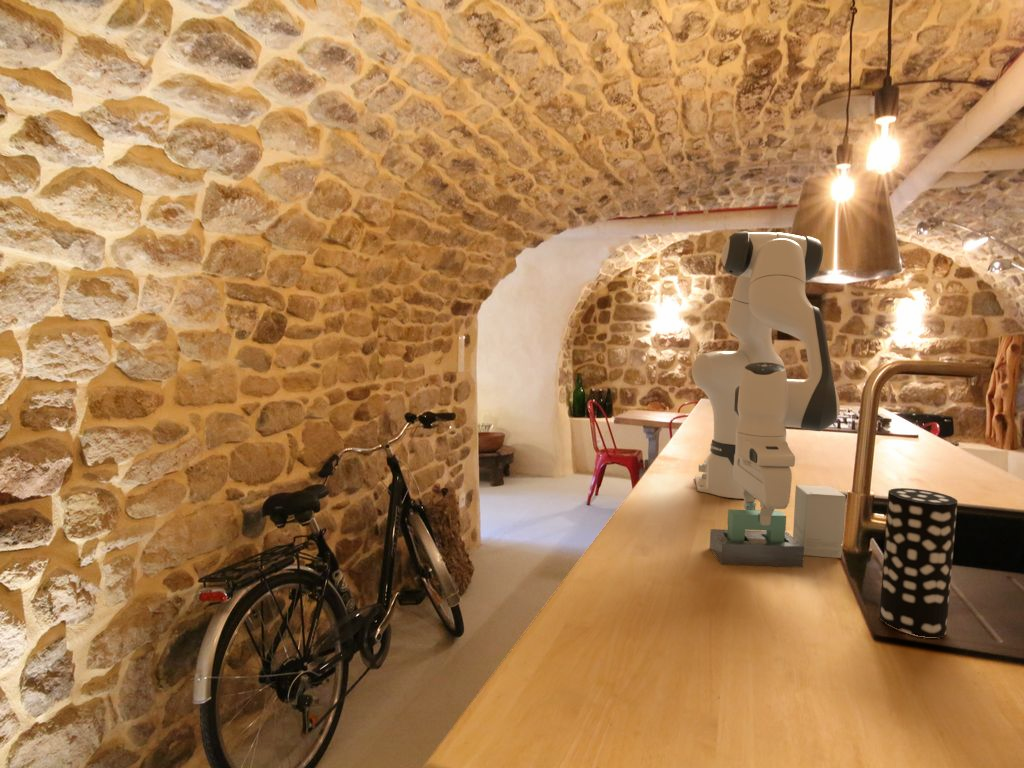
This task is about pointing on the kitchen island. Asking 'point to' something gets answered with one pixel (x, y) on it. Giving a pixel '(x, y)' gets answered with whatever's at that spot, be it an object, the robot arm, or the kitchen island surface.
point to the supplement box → (819, 520)
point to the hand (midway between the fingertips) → (756, 517)
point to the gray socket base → (756, 549)
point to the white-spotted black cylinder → (918, 561)
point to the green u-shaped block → (755, 525)
